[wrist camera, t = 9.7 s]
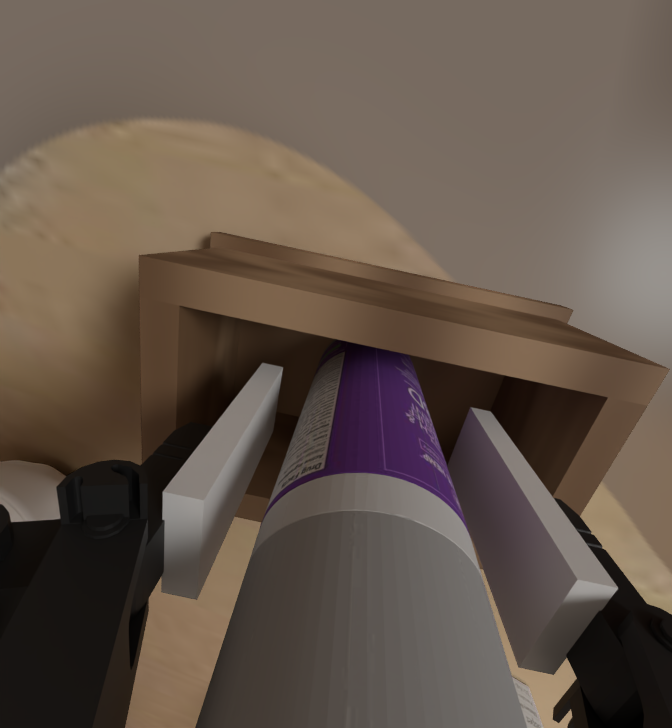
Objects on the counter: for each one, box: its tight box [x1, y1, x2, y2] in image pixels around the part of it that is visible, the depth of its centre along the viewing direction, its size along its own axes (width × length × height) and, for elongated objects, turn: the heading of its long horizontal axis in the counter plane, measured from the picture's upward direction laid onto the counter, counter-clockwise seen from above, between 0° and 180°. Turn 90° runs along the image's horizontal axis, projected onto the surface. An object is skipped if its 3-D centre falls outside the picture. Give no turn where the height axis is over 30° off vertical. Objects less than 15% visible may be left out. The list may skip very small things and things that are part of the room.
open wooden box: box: [139, 232, 670, 569], centre depth 14 cm, size 16×10×7 cm, turn 79°
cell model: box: [0, 460, 66, 522], centre depth 20 cm, size 10×12×7 cm
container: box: [195, 339, 527, 728], centre depth 10 cm, size 5×5×15 cm
